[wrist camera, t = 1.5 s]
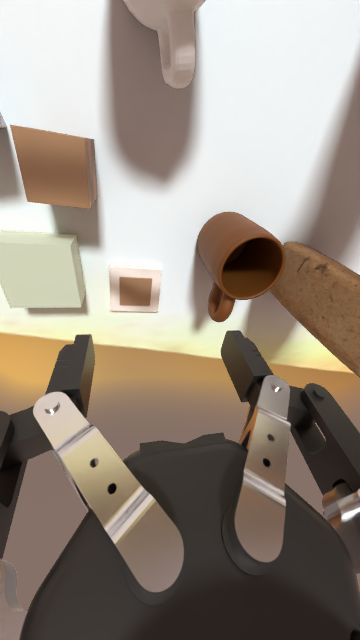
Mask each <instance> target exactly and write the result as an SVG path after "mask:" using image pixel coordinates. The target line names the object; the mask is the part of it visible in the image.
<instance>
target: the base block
mask: <svg viewBox="0 0 360 640" xmlns="http://www.w3.org/2000/svg"><path fill="white" fill-rule="evenodd" d="M0 284H1V286H2V289H3V291H4V294H5V296H6V299H7V301H8V304H9V306H10V308H81V307H82V303H83V300H84V296H85V286H84V280H83V273H82V267H81V260H80V254H79V248H78V241H77V235H75V234H58V233H41V232H25V231H8V230H0Z"/></svg>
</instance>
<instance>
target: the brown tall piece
mask: <svg viewBox="0 0 360 640" xmlns="http://www.w3.org/2000/svg"><path fill="white" fill-rule="evenodd" d="M283 248H284V250H285V256H286V261H285V267H284V270H283V272H282V274H281V276H280V278H279V279H278V281H277V282H276V283H275V284H274V286H273V287H272V288H271V289H269V290H270V292H271V293H272V294H273V295H274V296H275V297H276V298H277V299H278V300H279V301H280V302H281V304H282V305H283V306H284V307H285V308H286V309H287V310H288V311H289V312H290V313H291V314H292V315H293V316H294V317H295V318H296V319H297V320H298V321H299V322H300V323H301V324H302V325H303V326H304V327H305V328H306V329H307V330H308V331H309V332H310V333H311V334H312V335H313V336H314V337H315V338H316V339H318V340H319V341H320V342H321V343H322V344H323V345H324V346H325V347H326V348H327V349H328V350H329V351H330V352H331V353H332V354H333V355H334V356H336V357H337V358H338V359H339V360H340V361H341V362H342V363H343V364H345V365H346V366H347V367H348V368H349V369H350V370H351V371H353V372H354V373H355V374H356V375H357V376H359V377H360V275H358V274H357V273H355V272H354V271H352V270H350V269H349V268H347V267H345V266H343V265H342V264H340V263H338V262H336V261H334V260H333V259H331V258H329V257H327V256H325V255H323V254H321V253H319V252H318V251H316V250H314V249H311V248H310V247H308V246H305V245H303V244H300V243H298V242H287V243H285V244H284V245H283Z"/></svg>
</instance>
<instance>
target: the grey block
mask: <svg viewBox="0 0 360 640" xmlns="http://www.w3.org/2000/svg"><path fill="white" fill-rule="evenodd" d="M5 127H7V126H6V124H5V122H4V120H3V117H2V115H1V113H0V128H5Z"/></svg>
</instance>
